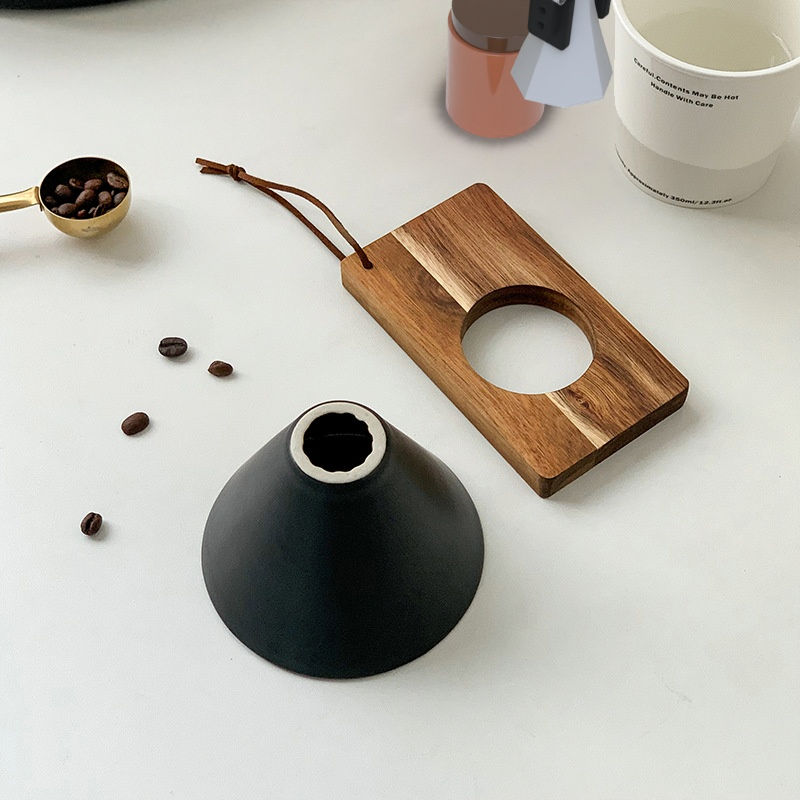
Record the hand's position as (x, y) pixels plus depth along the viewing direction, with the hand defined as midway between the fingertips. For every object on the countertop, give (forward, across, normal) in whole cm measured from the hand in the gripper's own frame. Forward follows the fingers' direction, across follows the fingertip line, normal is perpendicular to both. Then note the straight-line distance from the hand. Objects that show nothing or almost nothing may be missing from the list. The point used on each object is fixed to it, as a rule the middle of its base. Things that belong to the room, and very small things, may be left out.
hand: (568, 22), depth 81 cm
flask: (+5, 0, 0) cm, 5 cm away
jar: (+23, +10, +14) cm, 29 cm away
